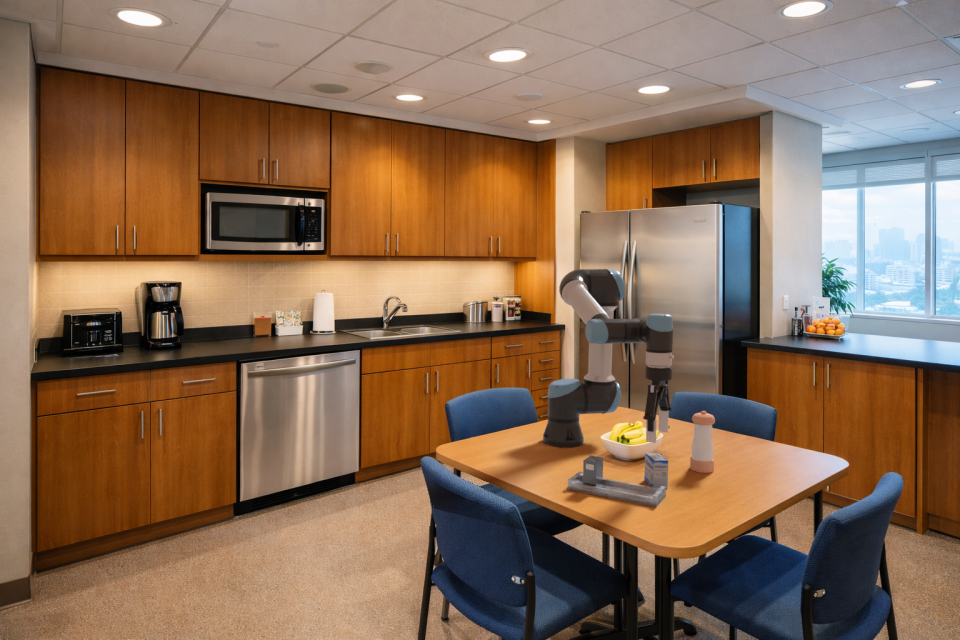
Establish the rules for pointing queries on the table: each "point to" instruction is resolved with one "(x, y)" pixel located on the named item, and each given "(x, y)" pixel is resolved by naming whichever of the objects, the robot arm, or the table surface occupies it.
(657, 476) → the medicine box
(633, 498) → the rail
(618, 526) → the table surface
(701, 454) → the pepper shaker
